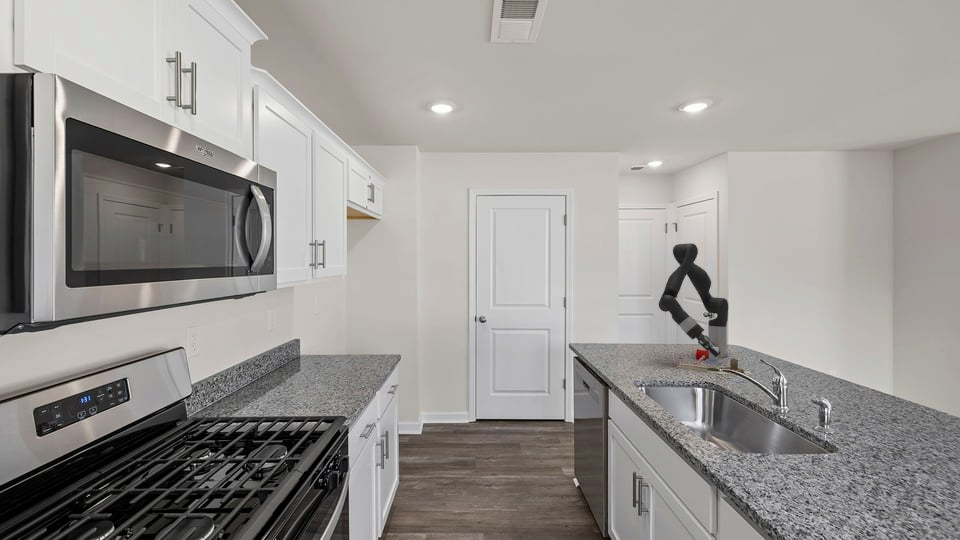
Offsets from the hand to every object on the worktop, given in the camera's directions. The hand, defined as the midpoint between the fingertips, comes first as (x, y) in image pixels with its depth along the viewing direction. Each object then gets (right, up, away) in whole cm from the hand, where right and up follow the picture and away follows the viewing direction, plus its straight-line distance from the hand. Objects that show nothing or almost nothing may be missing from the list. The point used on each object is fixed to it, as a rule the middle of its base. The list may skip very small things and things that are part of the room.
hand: (718, 354), depth 212 cm
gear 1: (-2, -5, +1) cm, 5 cm away
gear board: (-2, -9, +2) cm, 9 cm away
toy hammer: (+4, -9, +22) cm, 24 cm away
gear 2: (+5, -8, -4) cm, 10 cm away
